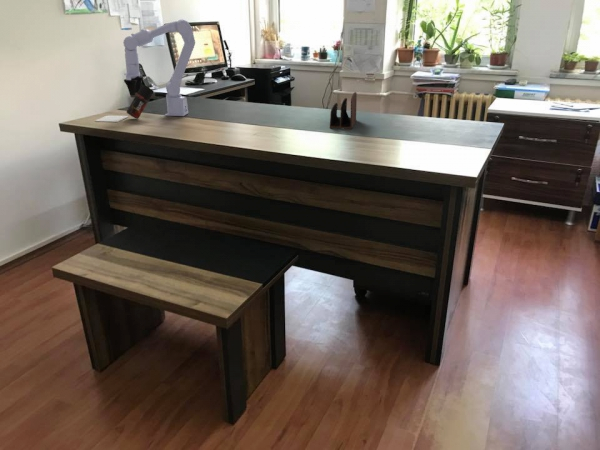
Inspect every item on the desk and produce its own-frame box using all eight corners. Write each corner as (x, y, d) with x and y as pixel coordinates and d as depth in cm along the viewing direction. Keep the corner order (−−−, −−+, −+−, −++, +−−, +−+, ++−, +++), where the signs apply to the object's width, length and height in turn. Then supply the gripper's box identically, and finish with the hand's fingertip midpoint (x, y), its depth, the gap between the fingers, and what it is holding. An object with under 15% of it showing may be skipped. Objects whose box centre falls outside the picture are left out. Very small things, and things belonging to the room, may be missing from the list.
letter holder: (356, 120, 236) (357, 90, 230) (351, 129, 218) (353, 97, 212) (335, 119, 237) (336, 89, 232) (329, 128, 220) (330, 96, 214)
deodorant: (131, 113, 228) (147, 86, 230) (123, 110, 232) (139, 83, 233) (140, 120, 233) (156, 93, 235) (132, 117, 237) (148, 90, 238)
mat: (128, 116, 239) (128, 116, 239) (117, 122, 228) (117, 121, 228) (107, 116, 240) (107, 115, 240) (94, 121, 229) (94, 120, 229)
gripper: (128, 62, 237) (131, 91, 242) (118, 65, 224) (121, 95, 229) (143, 62, 237) (146, 91, 242) (133, 65, 224) (136, 96, 229)
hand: (135, 93), depth 236 cm, fingers open, 7 cm apart
